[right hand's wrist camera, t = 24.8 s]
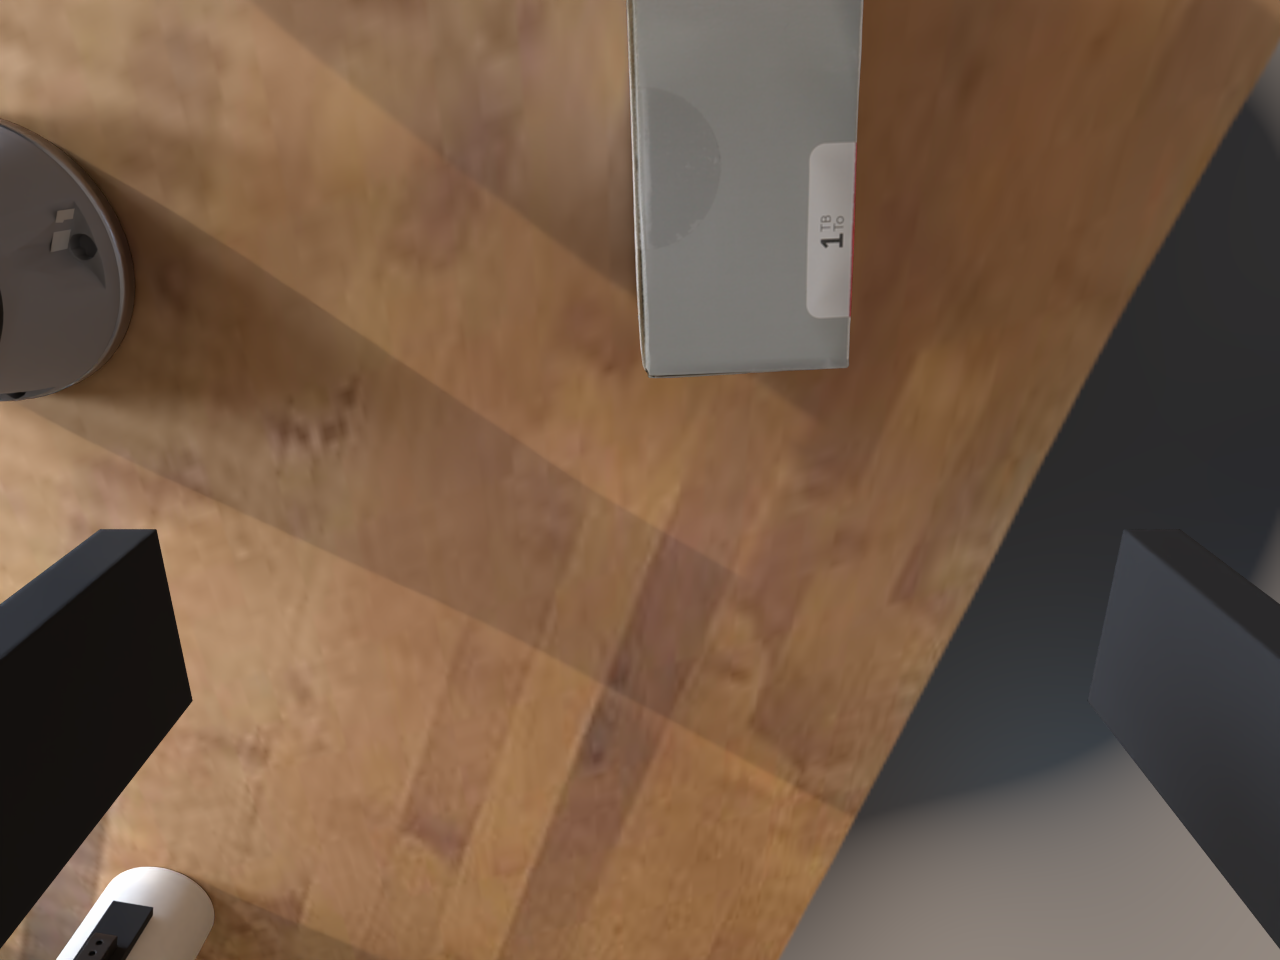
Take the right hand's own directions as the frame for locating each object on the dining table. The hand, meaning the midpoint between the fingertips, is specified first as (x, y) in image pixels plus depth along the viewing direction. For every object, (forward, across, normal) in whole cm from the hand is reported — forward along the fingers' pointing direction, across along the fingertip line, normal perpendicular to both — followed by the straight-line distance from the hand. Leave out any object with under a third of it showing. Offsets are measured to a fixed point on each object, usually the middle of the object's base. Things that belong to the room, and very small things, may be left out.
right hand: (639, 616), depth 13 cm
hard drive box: (+41, +3, +6) cm, 41 cm away
